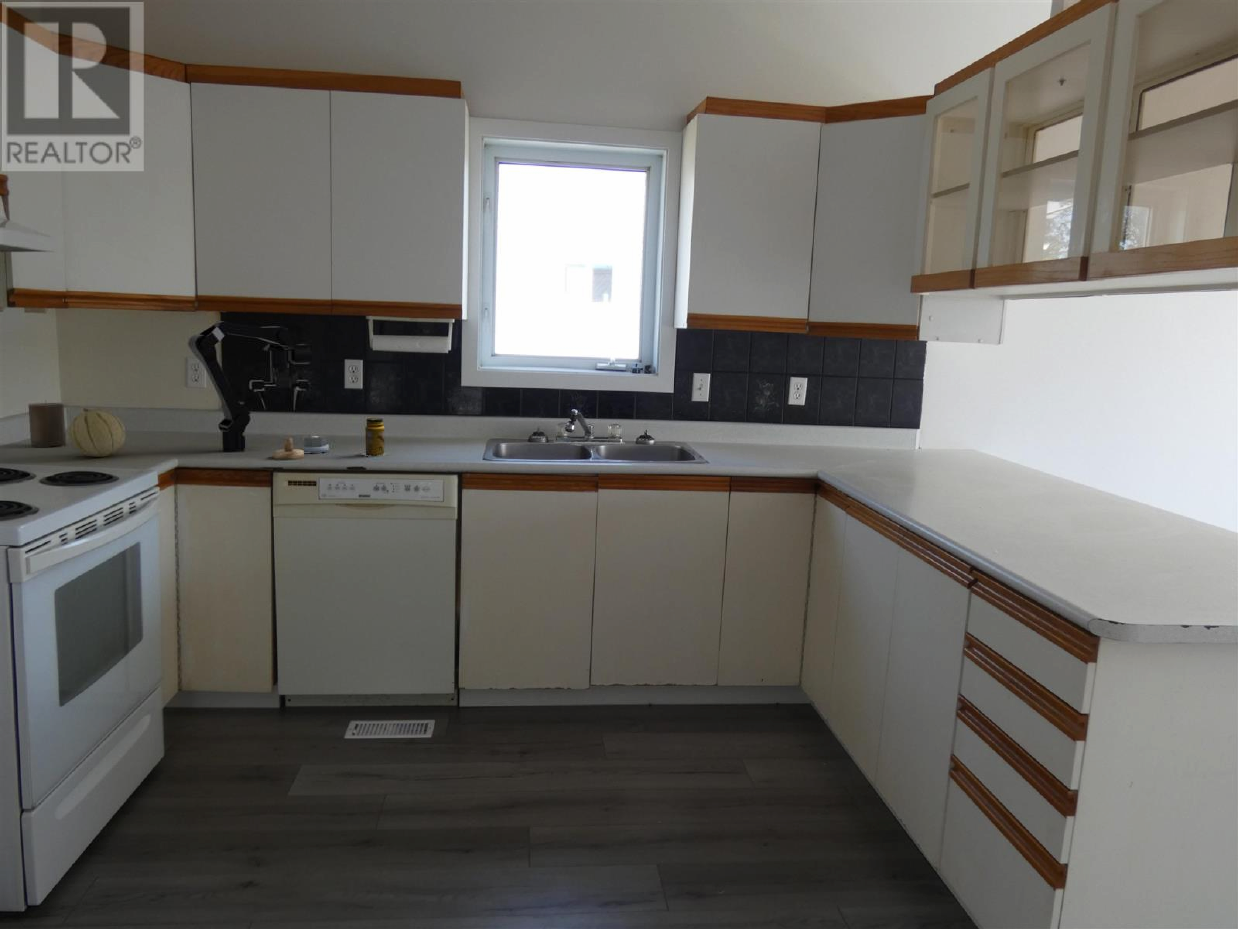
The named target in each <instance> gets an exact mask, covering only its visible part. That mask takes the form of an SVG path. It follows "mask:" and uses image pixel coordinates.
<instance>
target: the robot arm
mask: <svg viewBox="0 0 1238 929" xmlns="http://www.w3.org/2000/svg"><path fill="white" fill-rule="evenodd" d="M226 335H233V336H241V337H248V338H256V339H258V340H262V341H265V342H267V345H266V346H264V347H263V349H262V350H264V351H267V352H269V355H270V356H269V358H270V359H269V361H270V362H269V363H270V366H269V367H270V381H269V382H268V381H267V382H266V381H264V380H262V379H260V380H259V379H257V380H256V379H255V380H253V379H251V380H250V381H249V385H248V386H249V389H250V390H252V391H253V392H255V393H257V394H258V396H259V397H260V400H261V401H262V405H263V407H264V410H265V411H266V412H267V411H268V403H267V396H266V394H267V392H266V390H265V389H266V388H272V389H273V388H275V389H276V388H278V389H280V388H281V389H282V388H289V389H291V388H294V393H293V410H294V411H296V410H297V408H298V405H299V401H300V398H302V395H303V393H304V392H305V393H306V392H307V390H311V382H310V381H309V380H307V379H298V373H297V372H290V369H289V367H290V366H289V362H290V363H291V364H292V365H308V364H311V363H312V361H313V360H312V359H313V354H312V351H311V348H310V347H309V346H310V345H309V344H308V343H301V344H297V343H296V342H295V340H294V339H293V338H292V337H291V332H290V331H289V329H288V328H287V327H284V326H276V325H275V326H253V325H247V324H246V325H245V324H241V323H240V324H239V323H231V322H228V321H224V320H223V321H221V320H219V321H216V322H215V323H214V324H213V325H211V326H209V327H207V328H206V329H204V330H203V331H200V332H199V334H194V335H192V336H191V337H190V338H189V339H188V342H187V345H188V348H189V350H190V351H191V352H192V353H193V355H194V356H195V357H196V358H197V359H198V360H199V361H200V363H201V364H202V365H203V367H204V369H205V371H206V373H207V375H208V377H209V379H210V381H211V384H212V385H213V387H214V389H215V391H216V393H217V395H218V397H219V399H220V402H221V403H222V412H223V417H224V418H223V419H222V420H221V421H220V422H219V423H218V424H217V427H218V429H219V431H220V436H221V439H220V440H221V447H220V450H221V451H222V452H224V453H227V452H245V451H246V450H245V449H246V436H245V435H244V433H245V431H246V429H247V427H248V425H249V424H250V422H251V414H252V413H251V412H250V411H249V409H248V406H247V403H246V402H243V401H239V400H238V399H237V398H236V396H235V393H234V391H233V389H232V388H231V386H230V383H229V381H228V379H227V377H226V376H225V373H224V371H223V369H222V367H221V365H220V363H219V361H218V355H217V354H218V352H217V347H216V345H217V344H218V343H219V342H221V340H222V339H223V338H224V337H225V336H226ZM273 344H278V345H273Z"/></svg>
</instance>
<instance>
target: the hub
mask: <svg viewBox="0 0 1238 929" xmlns="http://www.w3.org/2000/svg"><path fill="white" fill-rule="evenodd" d="M311 437H318V436H311ZM329 446H330V445H329V444H328V443H326V446H323V447H304V446H303V444H300V445H299V450H303V451H304V452H310V453H317V454H322V453H321V452H326V453H329V452H330V447H329ZM310 453H309V454H310Z"/></svg>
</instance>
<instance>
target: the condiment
mask: <svg viewBox="0 0 1238 929" xmlns="http://www.w3.org/2000/svg"><path fill="white" fill-rule="evenodd" d="M364 434H365V435H364V436H365V453H366V455H383V456H385V455H384V454H385V426H384V420H383V418H380V417H369V418H367V419H366V426H365V433H364ZM361 453H362V452H357V453H355V454H356V455H359V456H361ZM387 454H388V453H387ZM389 455H390V454H388V455H387V456H389ZM364 457H366V456H364ZM366 458H367V457H366Z"/></svg>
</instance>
